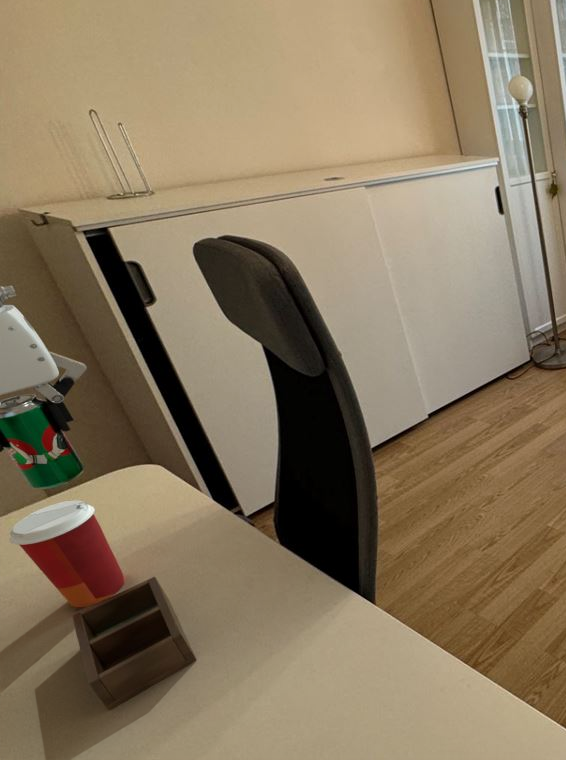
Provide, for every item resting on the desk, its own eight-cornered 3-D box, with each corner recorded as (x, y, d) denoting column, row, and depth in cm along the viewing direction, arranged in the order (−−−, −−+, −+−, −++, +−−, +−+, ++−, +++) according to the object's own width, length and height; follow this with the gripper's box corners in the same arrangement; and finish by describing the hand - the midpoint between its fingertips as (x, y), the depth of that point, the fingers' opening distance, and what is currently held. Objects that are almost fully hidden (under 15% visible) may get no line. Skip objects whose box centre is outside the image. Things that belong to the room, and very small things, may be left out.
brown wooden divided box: (108, 711, 65) (88, 684, 63) (89, 641, 73) (71, 615, 71) (197, 660, 70) (181, 634, 68) (169, 601, 79) (154, 576, 77)
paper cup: (135, 563, 86) (91, 490, 80) (135, 591, 80) (88, 515, 75) (61, 592, 81) (8, 517, 75) (56, 624, 76) (-1, 546, 70)
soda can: (82, 463, 78) (37, 388, 73) (90, 475, 75) (43, 399, 70) (28, 482, 74) (-24, 405, 69) (35, 496, 71) (-19, 416, 66)
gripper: (52, 282, 73) (118, 402, 80) (-179, 323, 60) (-75, 460, 68) (61, 292, 68) (129, 417, 76) (-184, 338, 56) (-74, 483, 63)
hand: (32, 436), depth 72 cm, fingers closed on soda can, 5 cm apart
